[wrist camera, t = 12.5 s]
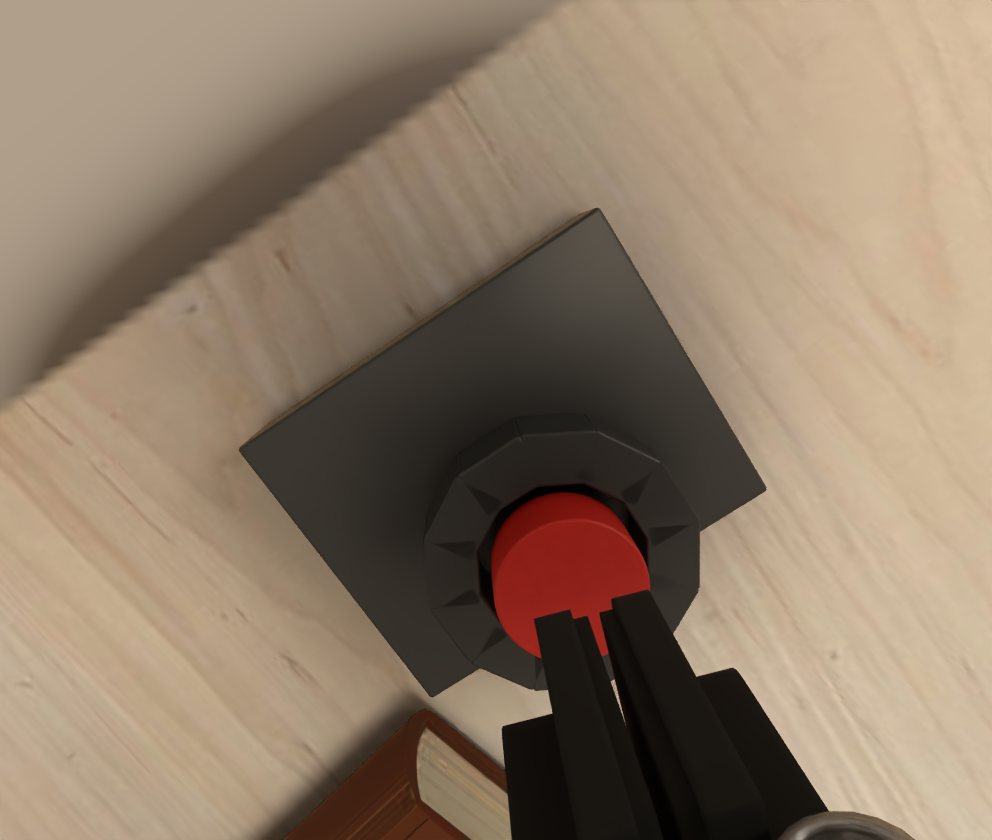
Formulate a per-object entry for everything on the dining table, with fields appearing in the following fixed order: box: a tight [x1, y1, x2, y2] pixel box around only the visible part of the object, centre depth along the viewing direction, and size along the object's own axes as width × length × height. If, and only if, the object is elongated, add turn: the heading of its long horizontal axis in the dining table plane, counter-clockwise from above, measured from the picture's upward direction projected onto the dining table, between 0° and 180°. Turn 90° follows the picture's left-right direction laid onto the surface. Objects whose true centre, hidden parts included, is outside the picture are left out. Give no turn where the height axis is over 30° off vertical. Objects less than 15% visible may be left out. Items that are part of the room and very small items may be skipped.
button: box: [491, 492, 650, 658], centre depth 16 cm, size 3×3×2 cm
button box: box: [239, 208, 766, 697], centre depth 18 cm, size 9×10×4 cm
